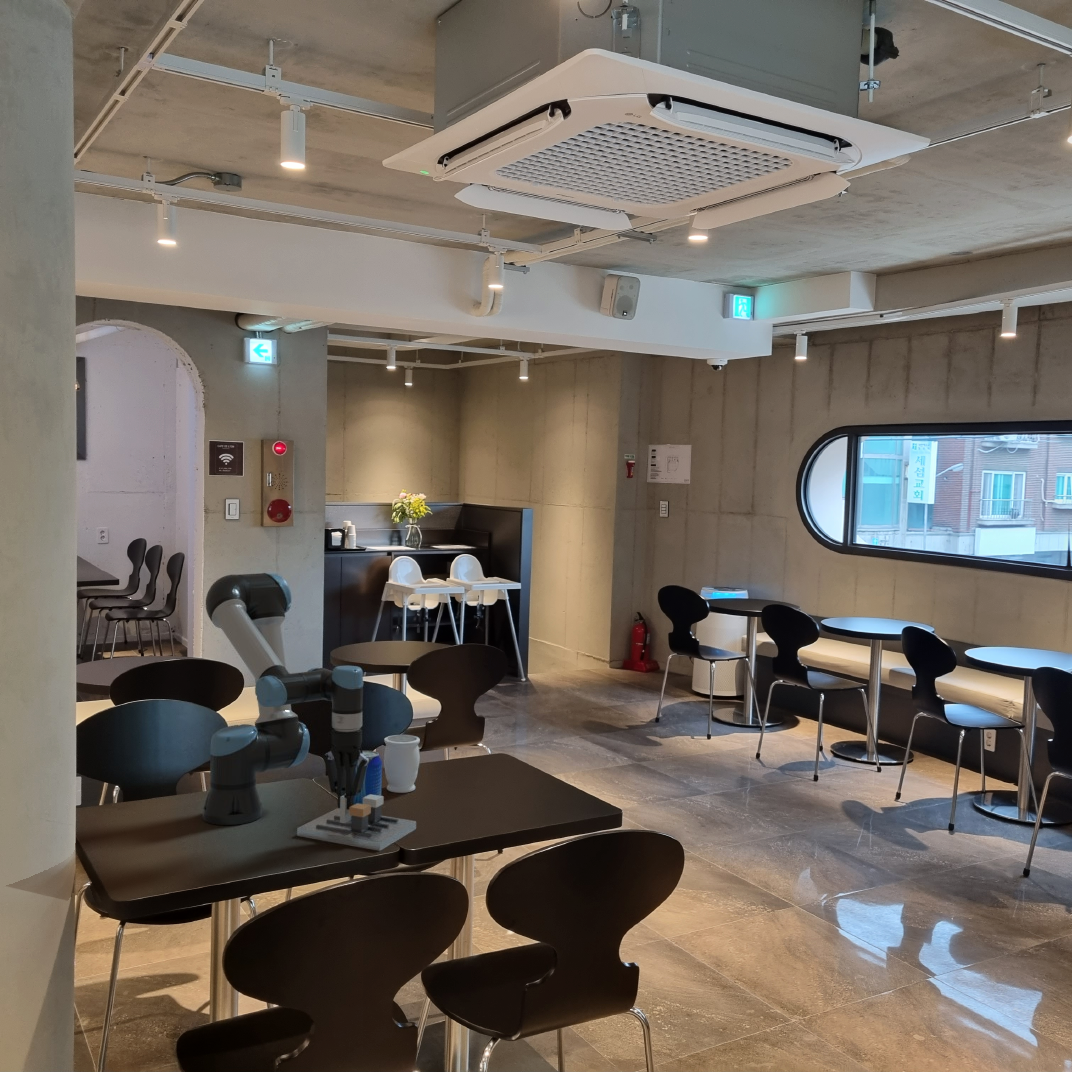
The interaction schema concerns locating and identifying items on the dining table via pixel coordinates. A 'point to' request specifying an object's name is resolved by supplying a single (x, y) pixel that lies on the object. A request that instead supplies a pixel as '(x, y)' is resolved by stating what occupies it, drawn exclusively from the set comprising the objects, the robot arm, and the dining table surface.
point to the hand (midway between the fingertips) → (345, 821)
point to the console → (371, 838)
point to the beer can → (370, 777)
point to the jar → (401, 762)
